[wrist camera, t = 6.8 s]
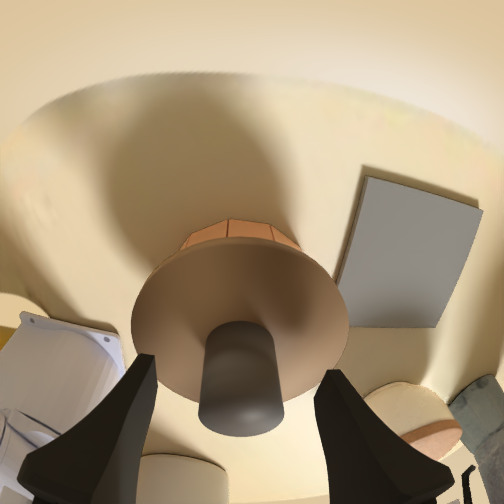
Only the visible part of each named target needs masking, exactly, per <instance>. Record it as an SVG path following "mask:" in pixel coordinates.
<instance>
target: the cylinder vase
mask: <svg viewBox="0 0 504 504" xmlns="http://www.w3.org/2000/svg"><path fill="white" fill-rule="evenodd" d="M136 504H229V478H228V475H227V474H226V472H225V471H224V470H222V469H221V468H219V467H218V466H216V465H214V464H211V463H209V462H206V461H203V460H199V459H195V458H191V457H185V456H179V455H169V454H153V455H147V456H143V457H141V460H140V467H139V474H138V483H137V494H136Z"/></svg>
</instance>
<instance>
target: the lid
mask: <svg viewBox="0 0 504 504" xmlns="http://www.w3.org/2000/svg"><path fill="white" fill-rule="evenodd" d="M131 334H132V339H133V343H134V346H135V349H136V352H137V354H140V353H144V354H149V355H155V363H156V374H157V380H158V381H159V382H161V383H162V384H163V385H164V386H166V387H167V388H169V389H170V390H172V391H173V392H175V393H177V394H179V395H181V396H183V397H185V398H187V399H190V400H192V401H195V402H198V403H199V411H198V416H199V419H200V421H201V423H202V424H203V425H204V426H205V427H207V428H208V429H210V430H212V431H214V432H216V433H219V434H223V435H227V436H234V437H248V436H255V435H259V434H263V433H266V432H268V431H270V430H272V429H274V428H275V427H277V426H278V425H279V424H280V423H281V422H282V420H283V418H284V407H283V402H285V401H288V400H290V399H293V398H295V397H297V396H299V395H301V394H303V393H305V392H306V391H308V390H310V389H311V388H313V387H314V386H315V385H317V384H318V383H319V382H320V381H322V379H323V377H324V375H325V373H326V371H327V369H333V368H334V367H335V365H336V364H337V363H338V361H339V359H340V357H341V355H342V354H343V351H344V349H345V346H346V343H347V339H348V334H349V318H348V311H347V308H346V305H345V302H344V299H343V297H342V296H341V294H340V292H339V290H338V288H337V286H336V284H335V282H334V281H333V279H332V278H331V277H330V275H329V274H328V273H327V272H326V270H325V269H324V268H323V267H321V266H320V265H319V264H318V263H317V262H316V261H315V260H313V259H312V258H310V257H309V256H308V255H306V254H305V253H303V252H301V251H299V250H297V249H295V248H293V247H291V246H288V245H285V244H282V243H279V242H276V241H273V240H268V239H263V238H257V237H243V236H238V237H223V238H217V239H211V240H206V241H203V242H200V243H197V244H194V245H191V246H189V247H187V248H185V249H182V250H180V251H178V252H177V253H175V254H174V255H172V256H170V257H169V258H167V259H166V260H165V261H164V262H162V263H161V264H160V265H159V266H158V267H157V268H156V269H155V270H154V271H153V272H152V274H151V275H150V276H149V277H148V278H147V280H146V282H145V284H144V285H143V287H142V289H141V291H140V293H139V295H138V297H137V299H136V302H135V305H134V308H133V311H132V317H131Z"/></svg>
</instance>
